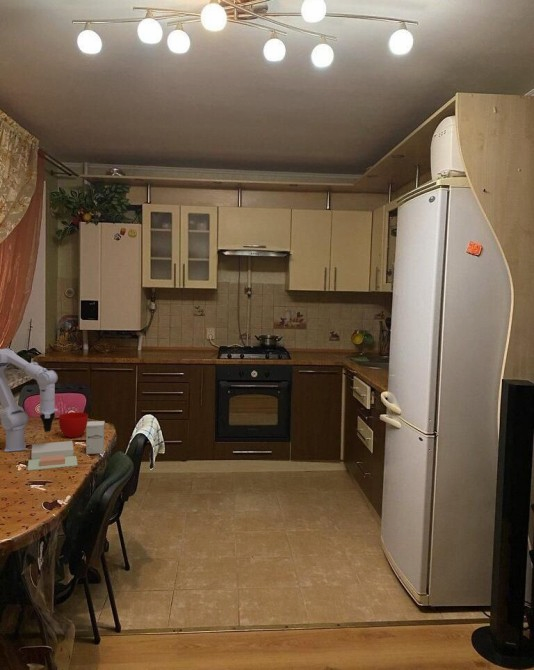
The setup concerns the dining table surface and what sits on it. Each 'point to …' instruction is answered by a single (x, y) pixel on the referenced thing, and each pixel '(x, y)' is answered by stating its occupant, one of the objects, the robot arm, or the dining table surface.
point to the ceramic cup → (73, 423)
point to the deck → (52, 449)
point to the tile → (52, 460)
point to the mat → (36, 465)
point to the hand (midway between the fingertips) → (47, 431)
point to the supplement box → (95, 437)
